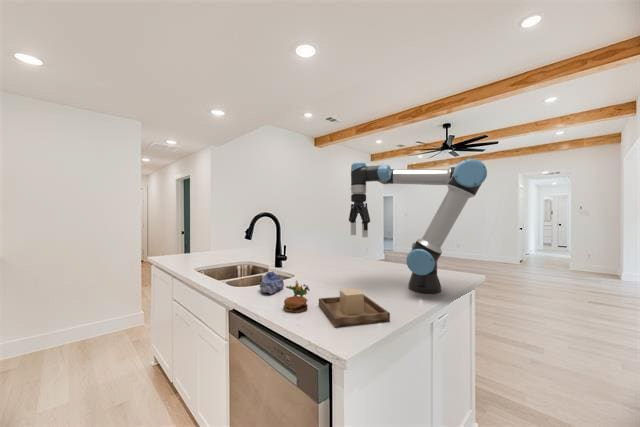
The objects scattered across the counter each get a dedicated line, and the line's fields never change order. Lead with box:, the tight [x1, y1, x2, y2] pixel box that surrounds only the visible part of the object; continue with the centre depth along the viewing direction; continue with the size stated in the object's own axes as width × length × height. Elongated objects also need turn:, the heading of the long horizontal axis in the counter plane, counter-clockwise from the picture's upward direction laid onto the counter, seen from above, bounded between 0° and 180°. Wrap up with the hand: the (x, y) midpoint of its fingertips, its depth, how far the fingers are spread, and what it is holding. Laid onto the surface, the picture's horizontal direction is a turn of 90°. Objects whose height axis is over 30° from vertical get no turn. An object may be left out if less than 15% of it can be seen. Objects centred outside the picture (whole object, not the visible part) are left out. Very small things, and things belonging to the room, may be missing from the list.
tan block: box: [339, 288, 365, 315], centre depth 103 cm, size 7×7×7 cm
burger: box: [283, 295, 308, 313], centre depth 107 cm, size 10×9×5 cm
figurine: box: [285, 280, 310, 297], centre depth 120 cm, size 3×12×8 cm, turn 69°
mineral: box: [259, 271, 285, 295], centre depth 131 cm, size 14×10×10 cm
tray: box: [318, 294, 391, 329], centre depth 103 cm, size 20×22×3 cm
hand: (358, 236), depth 136 cm, fingers open, 13 cm apart
